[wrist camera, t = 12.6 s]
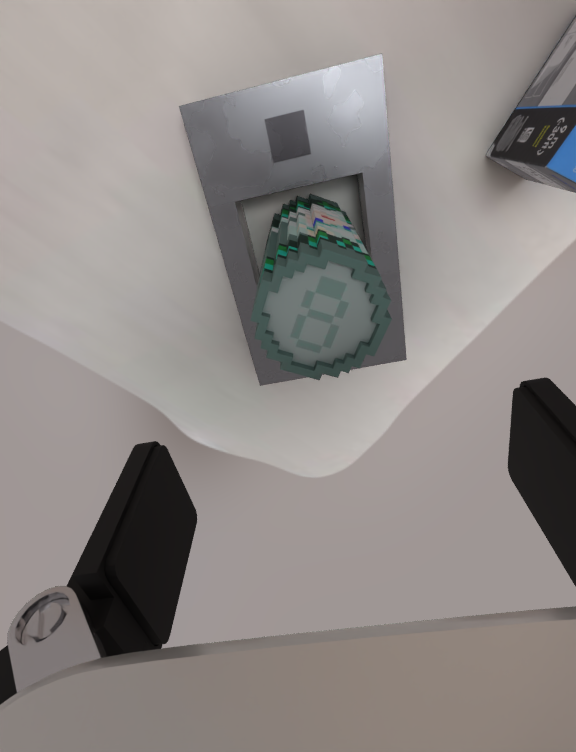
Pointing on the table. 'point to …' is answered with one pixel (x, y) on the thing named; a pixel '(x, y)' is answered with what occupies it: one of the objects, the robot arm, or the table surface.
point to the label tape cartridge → (545, 123)
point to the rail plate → (299, 174)
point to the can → (318, 292)
